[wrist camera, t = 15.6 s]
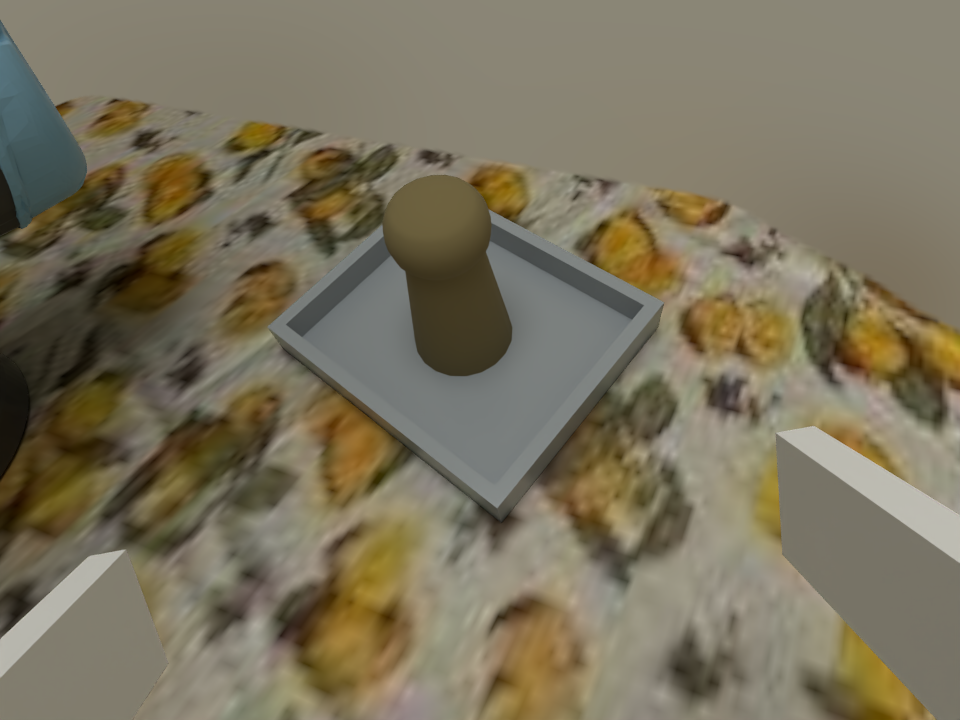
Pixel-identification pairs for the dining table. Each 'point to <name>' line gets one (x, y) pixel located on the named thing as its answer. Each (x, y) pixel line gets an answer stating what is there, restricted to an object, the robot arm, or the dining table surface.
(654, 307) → the tray
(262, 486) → the dining table surface
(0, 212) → the robot arm
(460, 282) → the cork
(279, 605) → the dining table surface
